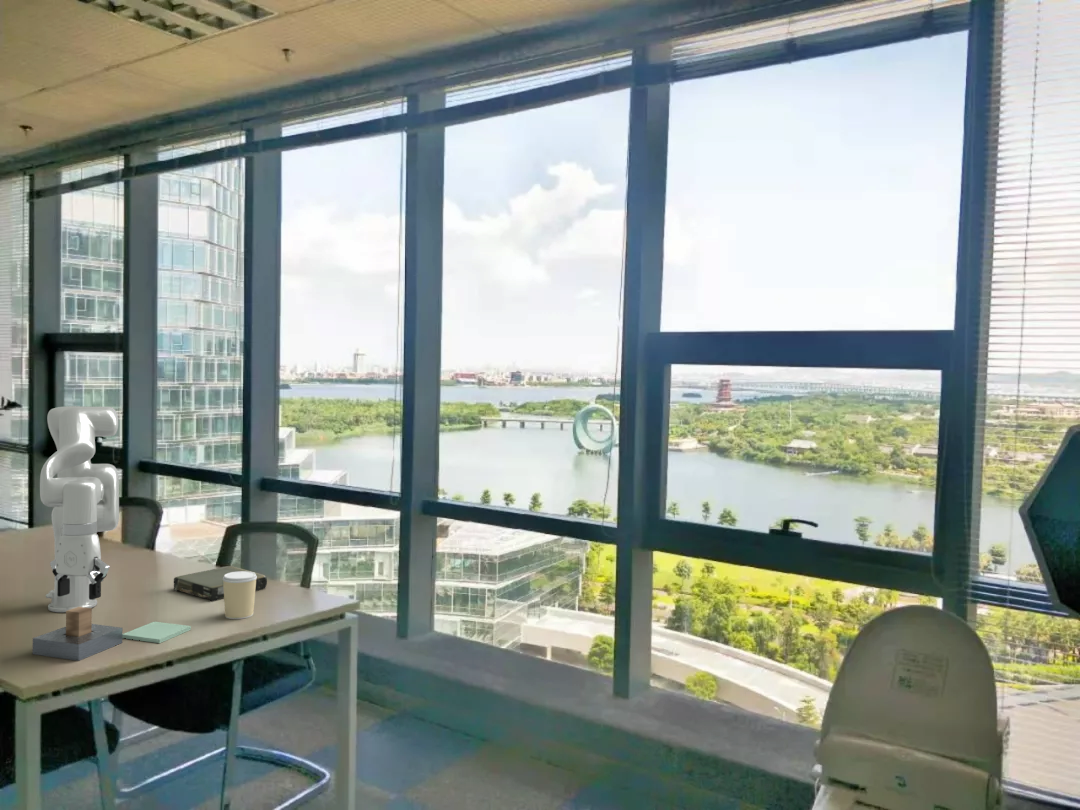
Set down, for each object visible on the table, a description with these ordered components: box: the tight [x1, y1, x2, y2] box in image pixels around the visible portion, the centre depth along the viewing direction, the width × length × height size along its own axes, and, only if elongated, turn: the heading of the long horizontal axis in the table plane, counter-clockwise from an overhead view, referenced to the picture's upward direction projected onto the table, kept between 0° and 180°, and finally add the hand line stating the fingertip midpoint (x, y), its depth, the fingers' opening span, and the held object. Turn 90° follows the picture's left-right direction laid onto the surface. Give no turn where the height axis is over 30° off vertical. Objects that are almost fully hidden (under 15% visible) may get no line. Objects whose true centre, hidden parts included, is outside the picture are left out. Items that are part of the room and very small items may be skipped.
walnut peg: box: [65, 607, 93, 637], centre depth 204 cm, size 4×4×10 cm
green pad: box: [122, 621, 192, 644], centre depth 217 cm, size 12×12×1 cm
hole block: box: [32, 623, 123, 662], centre depth 204 cm, size 14×14×4 cm
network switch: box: [173, 565, 268, 602], centre depth 263 cm, size 23×23×5 cm
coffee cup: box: [223, 570, 257, 620], centre depth 235 cm, size 9×9×12 cm
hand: (79, 596), depth 203 cm, fingers open, 9 cm apart
